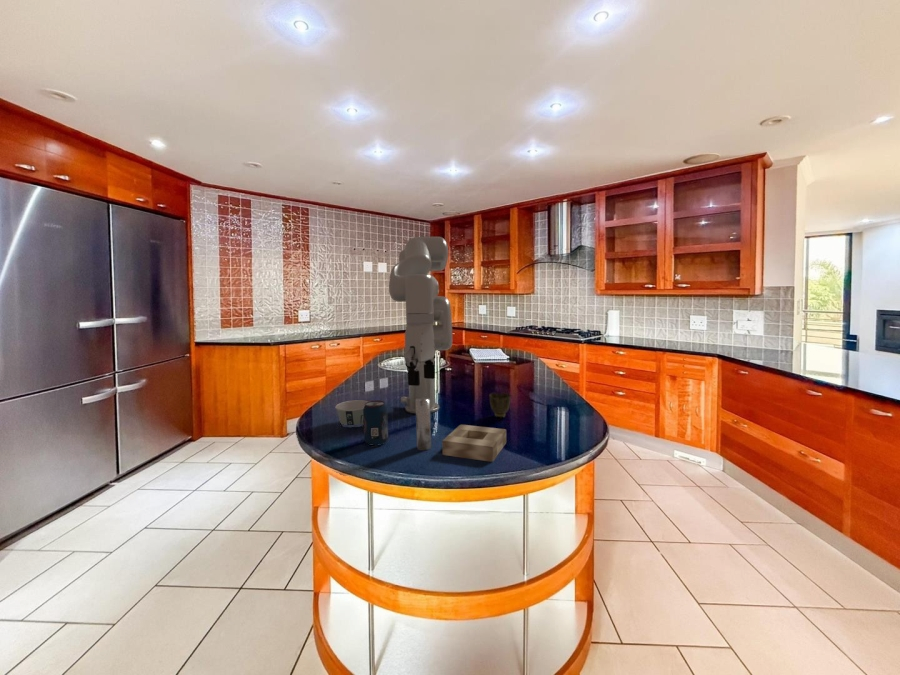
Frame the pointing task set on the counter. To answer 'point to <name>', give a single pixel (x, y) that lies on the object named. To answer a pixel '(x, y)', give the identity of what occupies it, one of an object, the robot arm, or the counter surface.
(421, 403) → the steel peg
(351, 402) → the food container
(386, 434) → the soda can
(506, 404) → the brown bumpy hollow part
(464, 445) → the square wooden frame
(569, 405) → the counter surface
